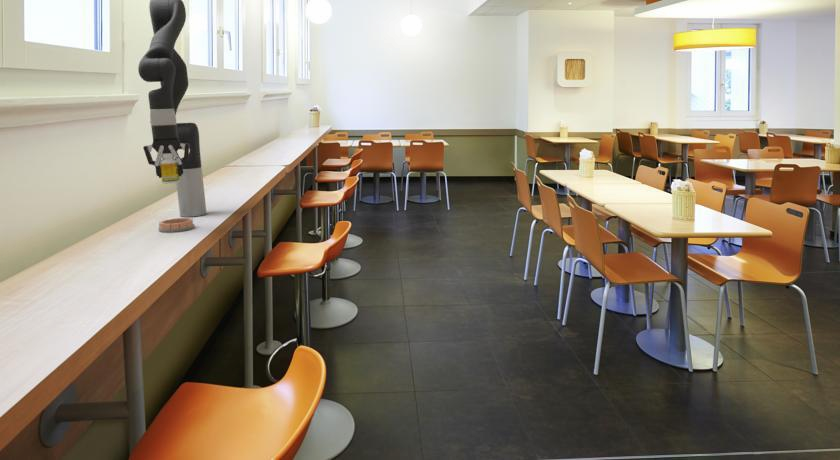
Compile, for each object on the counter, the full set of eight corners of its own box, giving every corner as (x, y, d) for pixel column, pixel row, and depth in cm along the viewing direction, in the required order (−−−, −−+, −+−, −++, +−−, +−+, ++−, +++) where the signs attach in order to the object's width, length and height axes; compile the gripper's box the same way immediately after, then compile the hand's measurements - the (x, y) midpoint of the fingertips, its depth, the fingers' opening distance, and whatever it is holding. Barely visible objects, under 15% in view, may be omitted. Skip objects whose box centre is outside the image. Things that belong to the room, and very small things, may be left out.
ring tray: (160, 227, 208) (159, 219, 208) (195, 224, 211) (194, 216, 211) (157, 233, 198) (156, 225, 198) (193, 230, 201) (192, 222, 201)
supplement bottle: (162, 182, 203) (158, 152, 201) (180, 181, 205) (176, 151, 203) (161, 184, 198) (158, 154, 196) (179, 183, 200) (176, 153, 198)
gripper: (188, 122, 203) (194, 174, 207) (140, 124, 199) (147, 177, 203) (187, 123, 196) (193, 176, 200) (137, 125, 192) (144, 179, 196)
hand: (170, 176), depth 201 cm, fingers closed on supplement bottle, 5 cm apart
